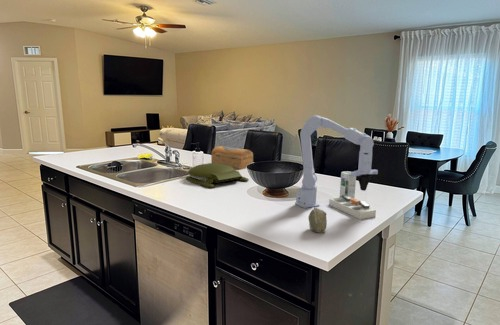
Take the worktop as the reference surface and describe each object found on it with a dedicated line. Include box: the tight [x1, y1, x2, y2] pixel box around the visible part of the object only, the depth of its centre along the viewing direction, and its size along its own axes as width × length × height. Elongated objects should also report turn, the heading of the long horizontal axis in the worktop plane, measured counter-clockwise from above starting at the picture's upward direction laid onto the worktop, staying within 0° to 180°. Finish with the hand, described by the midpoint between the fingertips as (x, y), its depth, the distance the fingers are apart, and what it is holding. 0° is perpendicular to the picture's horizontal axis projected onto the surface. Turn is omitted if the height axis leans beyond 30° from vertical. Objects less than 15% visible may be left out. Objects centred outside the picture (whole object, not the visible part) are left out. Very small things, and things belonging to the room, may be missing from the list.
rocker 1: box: [350, 198, 362, 204], centre depth 164 cm, size 3×4×1 cm, turn 24°
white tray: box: [328, 196, 377, 220], centre depth 163 cm, size 9×22×3 cm, turn 24°
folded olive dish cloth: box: [184, 162, 249, 189], centre depth 220 cm, size 35×31×10 cm
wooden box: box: [210, 145, 254, 170], centre depth 264 cm, size 30×16×14 cm, turn 50°
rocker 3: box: [342, 194, 352, 201], centre depth 169 cm, size 3×4×1 cm, turn 25°
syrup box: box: [338, 170, 357, 199], centre depth 180 cm, size 6×6×14 cm
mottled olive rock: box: [308, 206, 328, 233], centre depth 138 cm, size 9×8×10 cm
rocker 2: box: [359, 200, 371, 208], centre depth 158 cm, size 3×4×1 cm, turn 24°
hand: (363, 190), depth 162 cm, fingers closed
